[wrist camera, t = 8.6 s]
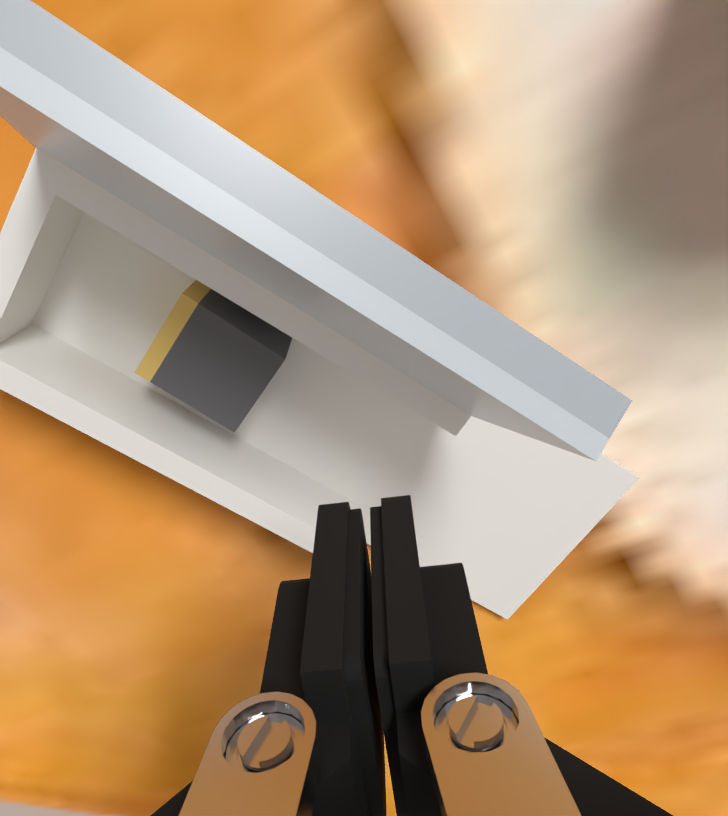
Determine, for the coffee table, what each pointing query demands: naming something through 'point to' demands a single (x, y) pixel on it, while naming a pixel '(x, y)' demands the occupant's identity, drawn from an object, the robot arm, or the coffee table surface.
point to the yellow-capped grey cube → (214, 355)
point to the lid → (288, 235)
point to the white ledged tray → (273, 401)
